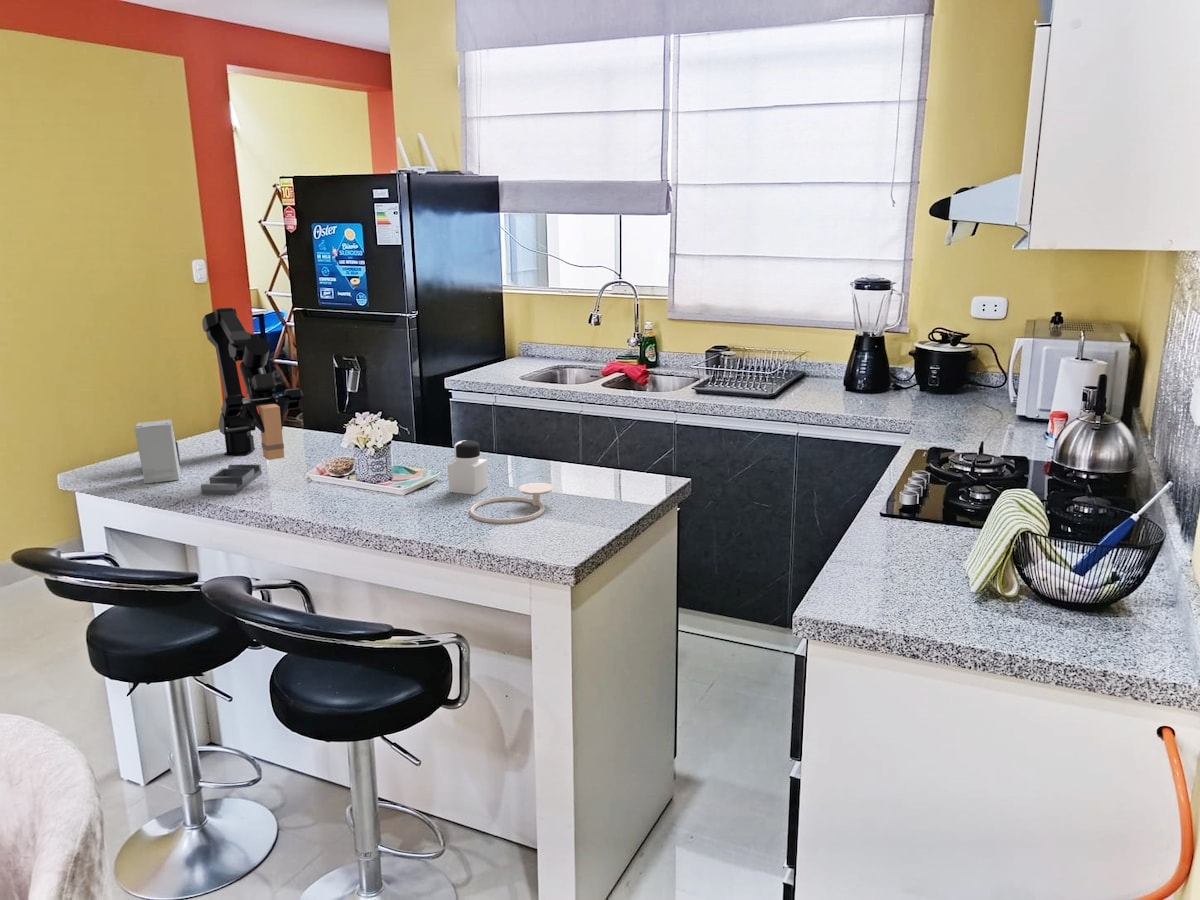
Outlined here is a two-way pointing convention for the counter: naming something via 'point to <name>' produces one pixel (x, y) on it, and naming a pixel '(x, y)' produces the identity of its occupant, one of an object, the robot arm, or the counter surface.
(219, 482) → the dark grey holder base
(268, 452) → the tan tall block
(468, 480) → the medicine bottle
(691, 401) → the counter surface
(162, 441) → the skincare box
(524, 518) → the hand towel holder
